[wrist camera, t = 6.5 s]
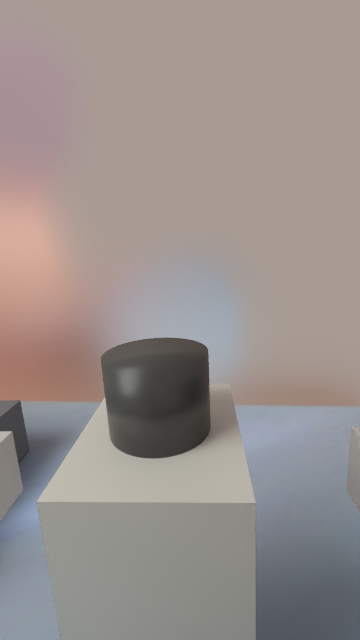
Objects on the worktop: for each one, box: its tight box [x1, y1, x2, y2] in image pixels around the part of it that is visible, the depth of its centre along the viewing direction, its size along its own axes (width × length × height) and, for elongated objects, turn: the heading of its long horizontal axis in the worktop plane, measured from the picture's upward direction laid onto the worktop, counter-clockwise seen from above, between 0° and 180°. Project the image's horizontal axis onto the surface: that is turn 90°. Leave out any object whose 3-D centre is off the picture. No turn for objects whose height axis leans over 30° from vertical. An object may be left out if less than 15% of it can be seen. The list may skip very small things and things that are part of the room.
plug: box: [37, 338, 256, 640], centre depth 9 cm, size 4×5×13 cm
